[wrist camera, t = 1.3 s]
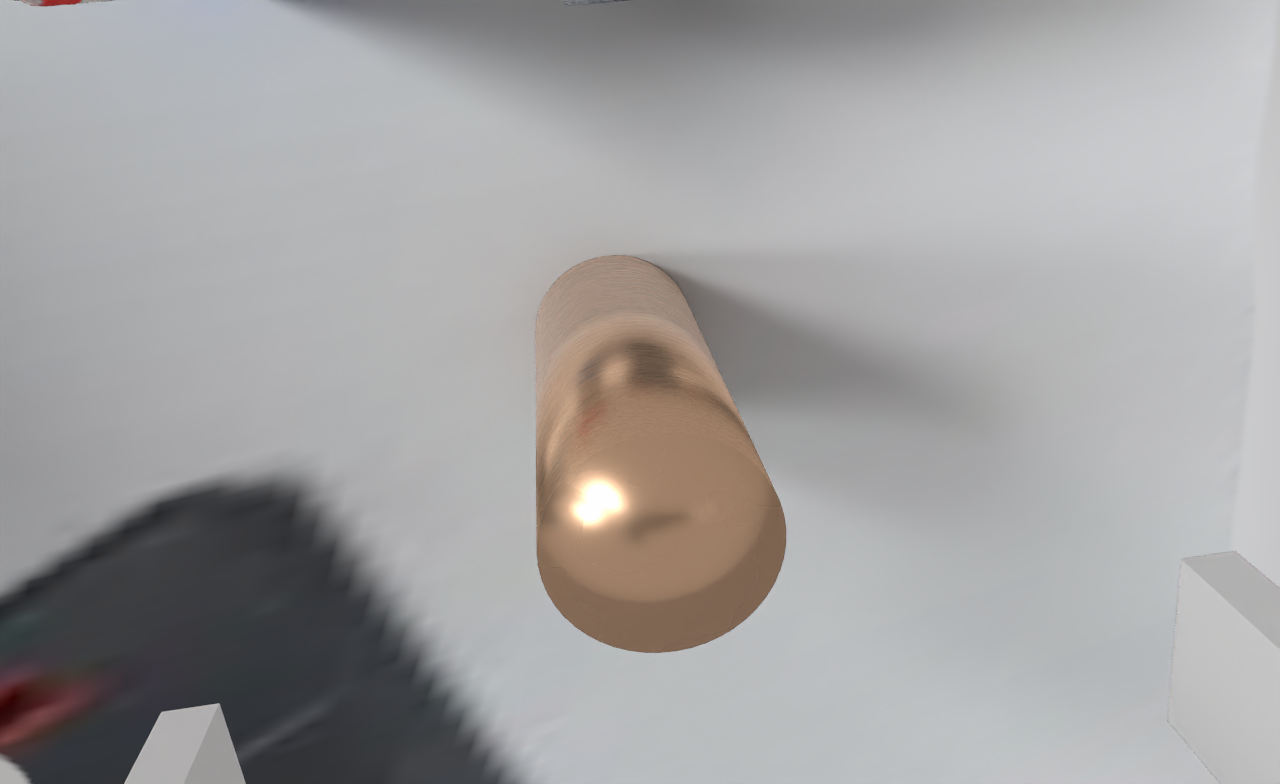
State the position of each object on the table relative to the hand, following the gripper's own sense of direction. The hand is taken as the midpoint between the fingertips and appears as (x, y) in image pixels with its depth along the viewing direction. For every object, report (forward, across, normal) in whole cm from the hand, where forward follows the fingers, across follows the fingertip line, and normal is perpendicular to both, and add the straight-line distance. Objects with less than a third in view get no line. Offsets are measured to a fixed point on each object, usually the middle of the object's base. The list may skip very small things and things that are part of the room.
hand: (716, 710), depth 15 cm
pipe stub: (+16, 0, 0) cm, 16 cm away
